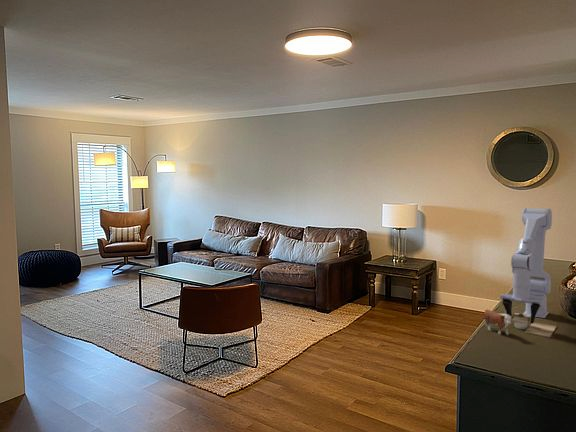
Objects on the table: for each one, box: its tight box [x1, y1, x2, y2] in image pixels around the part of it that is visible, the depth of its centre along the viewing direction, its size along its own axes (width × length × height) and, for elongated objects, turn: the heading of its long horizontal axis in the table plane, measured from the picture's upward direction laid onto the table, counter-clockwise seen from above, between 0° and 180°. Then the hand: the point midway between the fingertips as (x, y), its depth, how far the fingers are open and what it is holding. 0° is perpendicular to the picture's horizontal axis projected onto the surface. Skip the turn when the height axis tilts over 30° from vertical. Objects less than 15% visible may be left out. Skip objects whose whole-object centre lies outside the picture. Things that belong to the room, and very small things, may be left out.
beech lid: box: [511, 312, 531, 323], centre depth 165 cm, size 6×6×2 cm
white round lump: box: [513, 320, 529, 330], centre depth 166 cm, size 4×4×3 cm
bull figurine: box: [483, 309, 514, 336], centre depth 160 cm, size 4×13×8 cm, turn 16°
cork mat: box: [524, 321, 558, 339], centre depth 162 cm, size 14×8×1 cm, turn 140°
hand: (520, 321), depth 166 cm, fingers open, 7 cm apart
